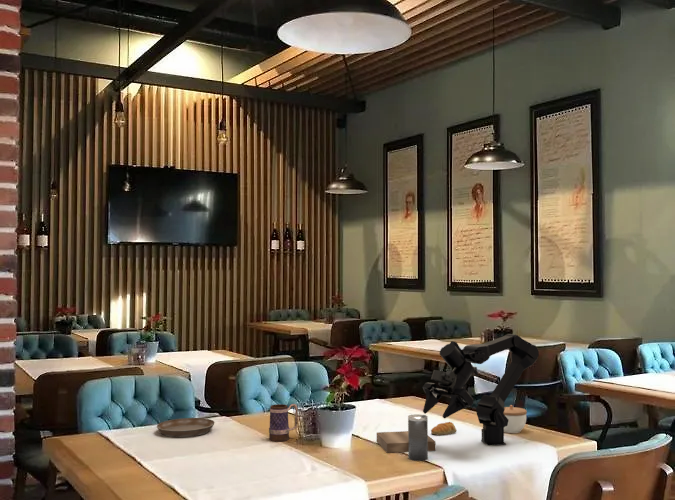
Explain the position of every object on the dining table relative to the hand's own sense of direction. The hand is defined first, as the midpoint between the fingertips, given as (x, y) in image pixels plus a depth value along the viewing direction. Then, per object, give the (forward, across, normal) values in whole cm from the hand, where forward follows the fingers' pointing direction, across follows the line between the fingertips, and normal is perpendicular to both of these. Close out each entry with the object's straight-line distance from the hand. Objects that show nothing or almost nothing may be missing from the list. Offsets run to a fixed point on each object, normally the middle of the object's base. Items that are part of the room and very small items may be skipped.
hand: (433, 415), depth 234 cm
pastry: (-8, -21, +26) cm, 34 cm away
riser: (+9, -14, +9) cm, 19 cm away
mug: (+29, -46, -10) cm, 56 cm away
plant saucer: (+46, -77, -27) cm, 93 cm away
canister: (+14, 0, +4) cm, 14 cm away
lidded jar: (-23, -9, +41) cm, 48 cm away
